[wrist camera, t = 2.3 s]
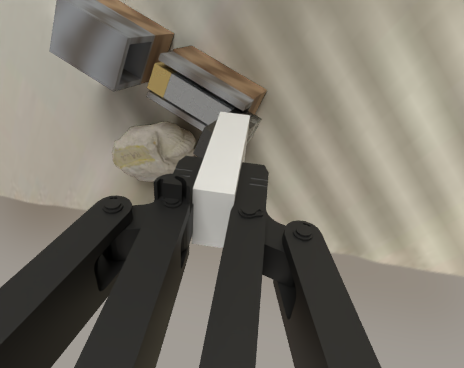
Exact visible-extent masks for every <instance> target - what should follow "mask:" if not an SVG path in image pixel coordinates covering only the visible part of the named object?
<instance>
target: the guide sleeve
mask: <svg viewBox="0 0 464 368" xmlns="http://www.w3.org/2000/svg"><path fill="white" fill-rule="evenodd" d="M158 60H159V61H161V62H163V63H164V64H166V65H168V66H169V67H171V68H173V69H174V70H176V71H178V72H179V73H181V74H182V75H184V76H186V77H187V78H189V79H191V80H192V81H194V82H196V83H197V84H199V85H201V86H202V87H204V88H206V89H207V90H209V91H211V92H212V93H214V94H216V95H217V96H219V97H221V98H222V99H224V100H226V101H227V102H229V103H231V104H232V105H234V106H235V107H237V108H239V109H240V110H242V111H244V110H248V111H249V112H251V113H253V114H254V115H255V113H256V111H257V109H258V107H259V105H260V103H261V101H262V99H263V97H264V95H265V93H266V91H267V90H266V89H264V88H262V87H261V86H259V85H257V84H256V83H254V82H252V81H251V80H249V79H247V78H245V77H244V76H242V75H240V74H239V73H237V72H235V71H234V70H232V69H230V68H229V67H227V66H225V65H224V64H222V63H220V62H218V61H217V60H215V59H213V58H212V57H210V56H208V55H207V54H205V53H203V52H202V51H200V50H198V49H196V48H195V47H193V46H188V47H182V48H176V49H173V51H171V52H166V53H160V56H159V59H158ZM146 97H148V98H150V99H151V100H153V101H154V102H156V103H158V104H159V105H161V106H162V107H164V108H166V109H167V110H169V111H170V112H172V113H174V114H175V115H177V116H179V117H180V118H182V119H183V120H185V121H187V122H188V123H190V124H191V125H193V126H195V127H196V128H198V129H200V130H201V131H203V129H204V127H206V126H208V125H207V124H206V123H204V122H203V121H201V120H199V119H198V118H196V117H194V116H193V115H191V114H190V113H188V112H186V111H185V110H183V109H181V108H180V107H178V106H177V105H175V104H173V103H172V102H170V101H168V100H167V99H165V98H164V97H161V96H159V95H158V94H156V93H154V92H153V91H151V90H150V91H148V93H147V96H146Z"/></svg>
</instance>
